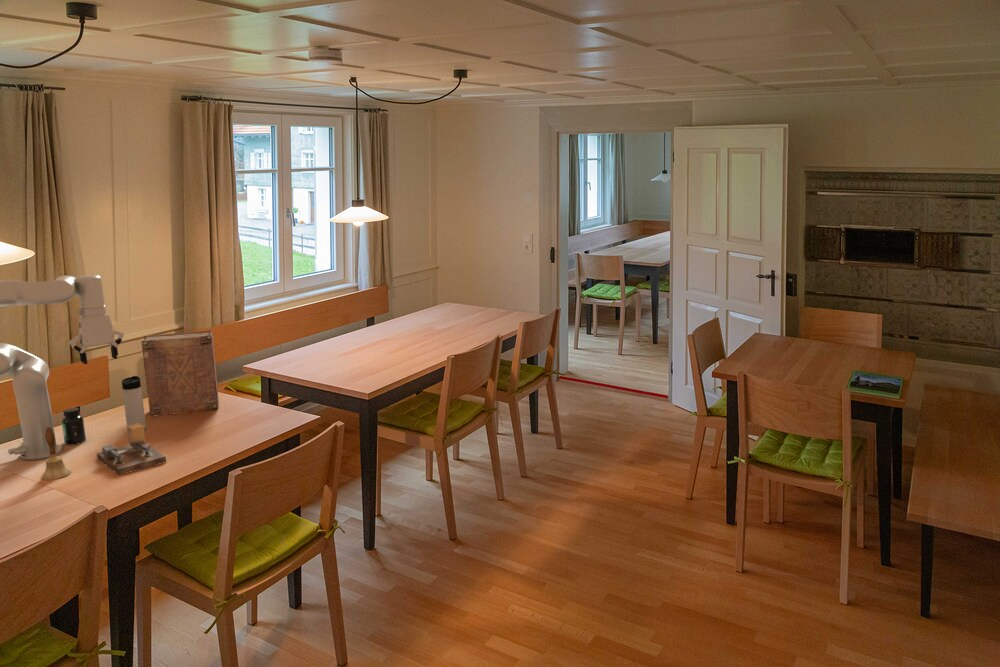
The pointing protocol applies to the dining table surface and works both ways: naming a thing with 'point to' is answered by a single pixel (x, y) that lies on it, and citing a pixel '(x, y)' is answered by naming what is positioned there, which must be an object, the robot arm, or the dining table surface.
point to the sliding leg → (137, 437)
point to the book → (180, 372)
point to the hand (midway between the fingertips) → (99, 360)
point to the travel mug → (133, 401)
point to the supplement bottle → (73, 426)
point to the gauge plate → (129, 458)
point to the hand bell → (54, 460)
